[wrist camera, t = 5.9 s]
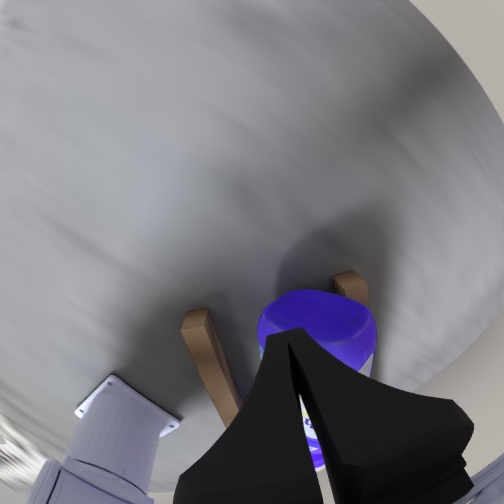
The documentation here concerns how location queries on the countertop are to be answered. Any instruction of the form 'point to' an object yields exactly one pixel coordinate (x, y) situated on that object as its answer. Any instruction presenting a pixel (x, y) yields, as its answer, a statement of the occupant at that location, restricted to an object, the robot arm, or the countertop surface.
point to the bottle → (323, 335)
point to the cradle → (212, 356)
